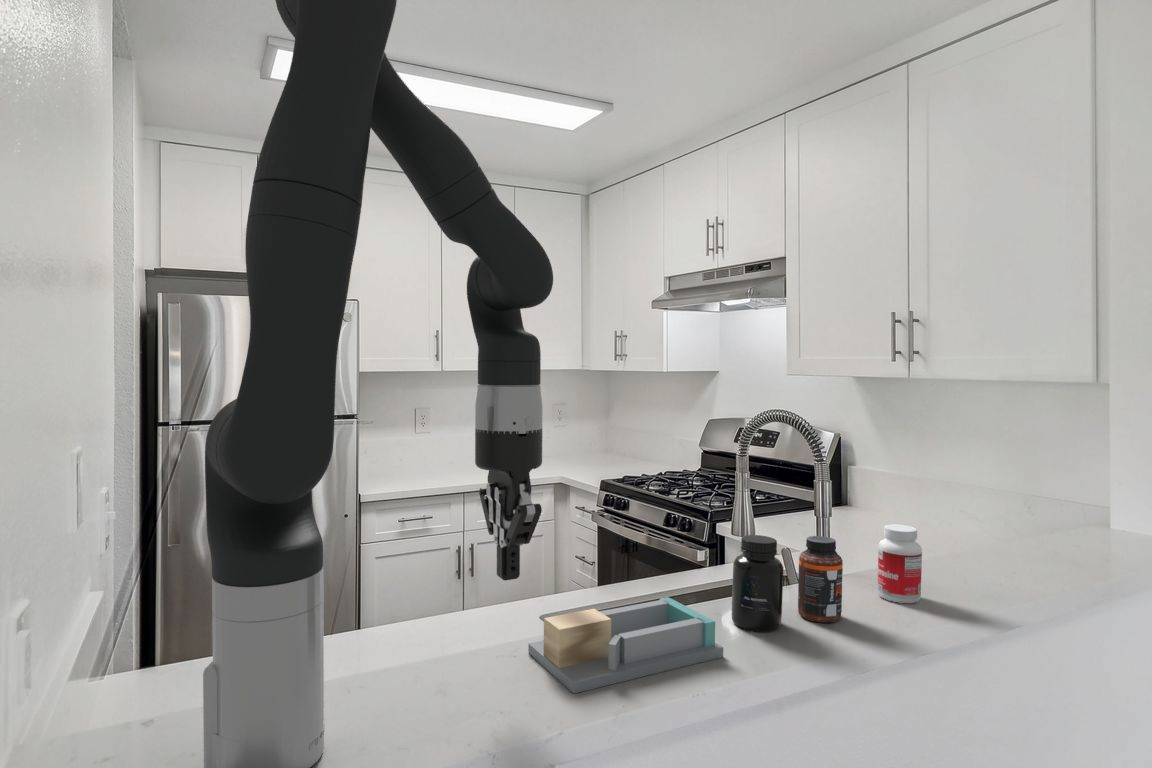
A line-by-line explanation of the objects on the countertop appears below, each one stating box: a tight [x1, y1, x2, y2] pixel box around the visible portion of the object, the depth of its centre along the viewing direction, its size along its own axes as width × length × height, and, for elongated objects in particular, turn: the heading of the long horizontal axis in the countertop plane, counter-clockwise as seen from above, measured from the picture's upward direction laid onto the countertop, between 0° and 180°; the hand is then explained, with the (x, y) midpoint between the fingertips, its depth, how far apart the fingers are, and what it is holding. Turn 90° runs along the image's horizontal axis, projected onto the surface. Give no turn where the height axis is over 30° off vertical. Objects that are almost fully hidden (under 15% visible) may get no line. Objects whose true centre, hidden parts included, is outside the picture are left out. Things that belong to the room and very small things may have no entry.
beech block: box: [543, 608, 611, 668], centre depth 84 cm, size 7×4×4 cm, turn 119°
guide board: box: [528, 596, 724, 694], centre depth 87 cm, size 21×12×4 cm, turn 118°
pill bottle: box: [876, 523, 923, 604], centre depth 109 cm, size 6×6×11 cm
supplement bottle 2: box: [797, 535, 844, 624], centre depth 101 cm, size 6×6×11 cm
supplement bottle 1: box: [731, 534, 784, 633], centre depth 98 cm, size 7×7×12 cm
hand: (508, 577), depth 79 cm, fingers closed
